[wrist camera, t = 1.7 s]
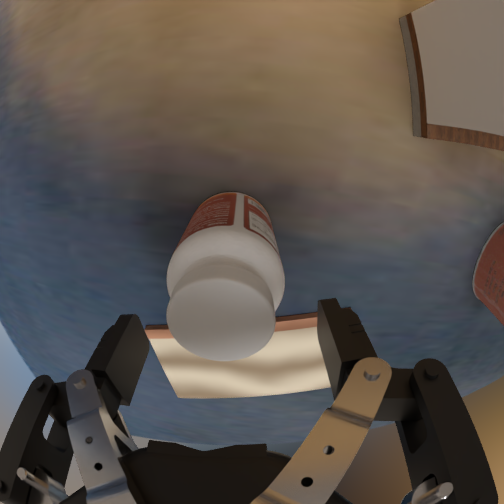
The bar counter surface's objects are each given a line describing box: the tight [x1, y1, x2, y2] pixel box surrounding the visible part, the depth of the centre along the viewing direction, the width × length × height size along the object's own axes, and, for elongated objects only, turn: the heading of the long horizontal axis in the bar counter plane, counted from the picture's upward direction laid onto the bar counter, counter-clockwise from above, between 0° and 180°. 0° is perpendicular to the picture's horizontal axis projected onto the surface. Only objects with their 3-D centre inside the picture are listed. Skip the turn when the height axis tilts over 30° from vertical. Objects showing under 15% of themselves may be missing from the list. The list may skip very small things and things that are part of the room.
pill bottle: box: [166, 192, 285, 361], centre depth 16 cm, size 6×6×11 cm
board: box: [145, 308, 351, 398], centre depth 27 cm, size 12×20×1 cm, turn 96°
